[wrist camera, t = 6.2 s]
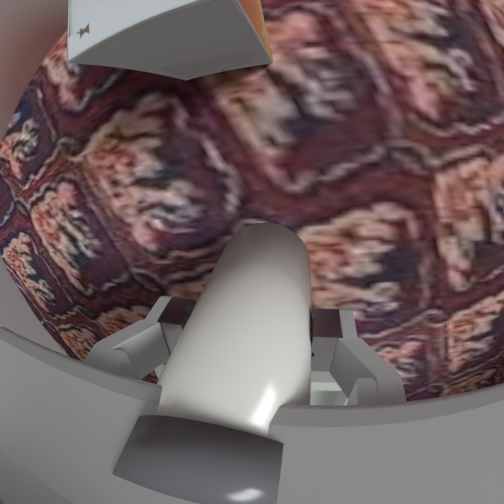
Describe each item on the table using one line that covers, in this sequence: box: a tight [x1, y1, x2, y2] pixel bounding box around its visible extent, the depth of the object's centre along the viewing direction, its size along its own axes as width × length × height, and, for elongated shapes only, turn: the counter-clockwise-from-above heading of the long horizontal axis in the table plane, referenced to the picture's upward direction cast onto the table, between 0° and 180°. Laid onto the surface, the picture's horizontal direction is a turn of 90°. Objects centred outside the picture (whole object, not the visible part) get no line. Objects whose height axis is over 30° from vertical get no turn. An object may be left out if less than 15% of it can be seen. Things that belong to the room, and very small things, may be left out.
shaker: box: [112, 223, 311, 504], centre depth 9 cm, size 5×5×12 cm
